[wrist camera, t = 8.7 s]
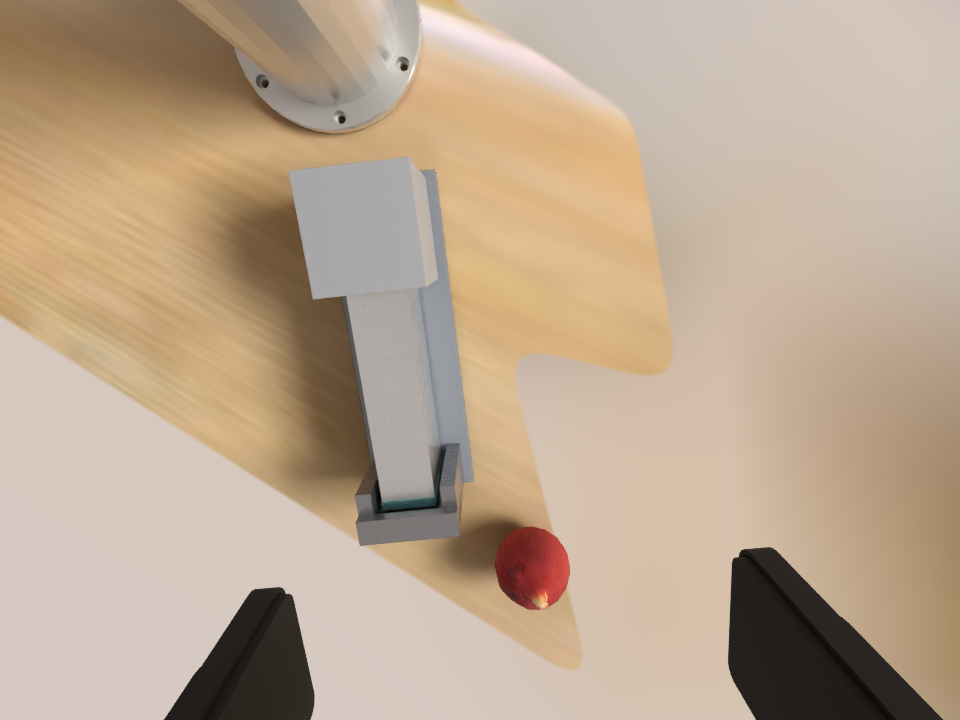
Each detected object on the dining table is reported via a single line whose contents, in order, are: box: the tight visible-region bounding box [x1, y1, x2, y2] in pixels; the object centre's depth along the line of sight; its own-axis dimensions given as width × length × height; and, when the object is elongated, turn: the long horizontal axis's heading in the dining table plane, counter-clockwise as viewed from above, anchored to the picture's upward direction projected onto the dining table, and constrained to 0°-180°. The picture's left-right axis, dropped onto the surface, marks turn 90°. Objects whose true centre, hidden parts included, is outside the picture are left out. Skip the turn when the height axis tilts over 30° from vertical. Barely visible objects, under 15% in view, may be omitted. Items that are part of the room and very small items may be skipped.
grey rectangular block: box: [346, 288, 444, 511], centre depth 33 cm, size 16×4×6 cm, turn 6°
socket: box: [355, 443, 464, 546], centre depth 34 cm, size 3×7×8 cm, turn 96°
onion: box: [495, 527, 570, 610], centre depth 37 cm, size 6×6×8 cm
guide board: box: [288, 157, 473, 483], centre depth 32 cm, size 24×8×9 cm, turn 6°
